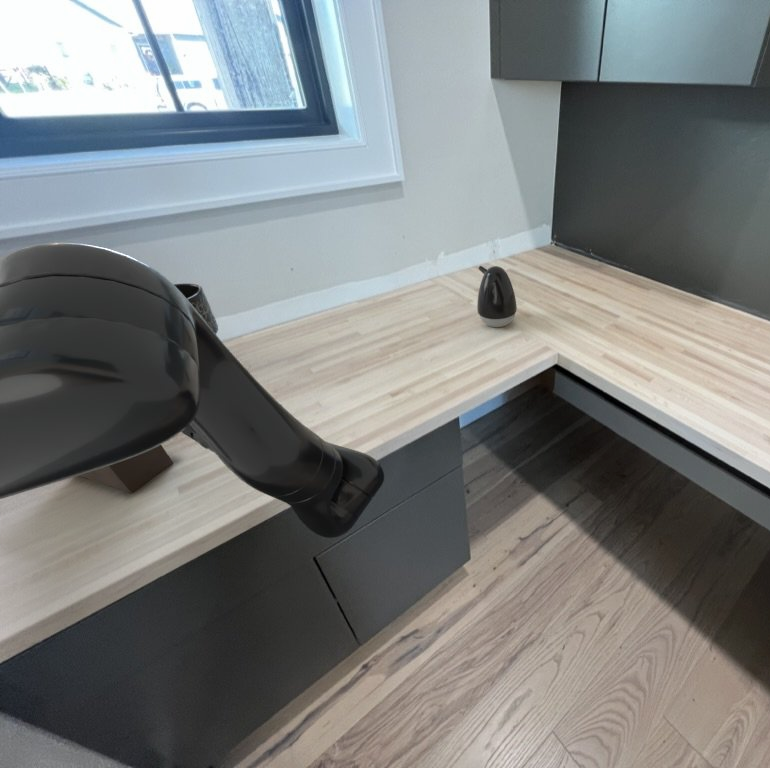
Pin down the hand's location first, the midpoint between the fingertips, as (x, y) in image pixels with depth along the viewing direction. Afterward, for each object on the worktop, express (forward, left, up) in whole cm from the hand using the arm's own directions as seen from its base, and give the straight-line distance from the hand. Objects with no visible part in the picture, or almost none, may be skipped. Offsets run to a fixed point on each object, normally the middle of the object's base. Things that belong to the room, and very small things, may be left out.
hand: (106, 343), depth 49 cm
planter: (+18, +40, -27) cm, 52 cm away
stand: (-5, +18, -27) cm, 33 cm away
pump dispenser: (+71, -5, -27) cm, 77 cm away
